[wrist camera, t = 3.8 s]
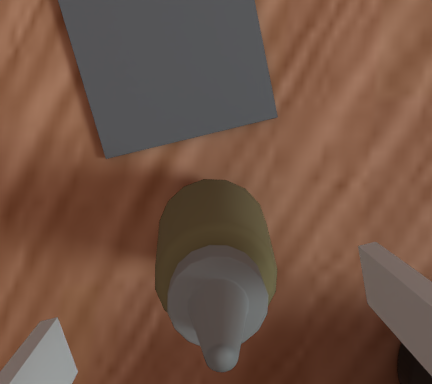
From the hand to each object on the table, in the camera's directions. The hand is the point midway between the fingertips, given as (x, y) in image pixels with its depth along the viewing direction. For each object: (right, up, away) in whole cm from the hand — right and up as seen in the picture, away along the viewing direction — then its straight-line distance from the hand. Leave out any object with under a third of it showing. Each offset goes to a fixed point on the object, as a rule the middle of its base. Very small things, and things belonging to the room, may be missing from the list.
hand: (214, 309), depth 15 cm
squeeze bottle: (0, +3, +15) cm, 15 cm away
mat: (-3, +16, +12) cm, 20 cm away
